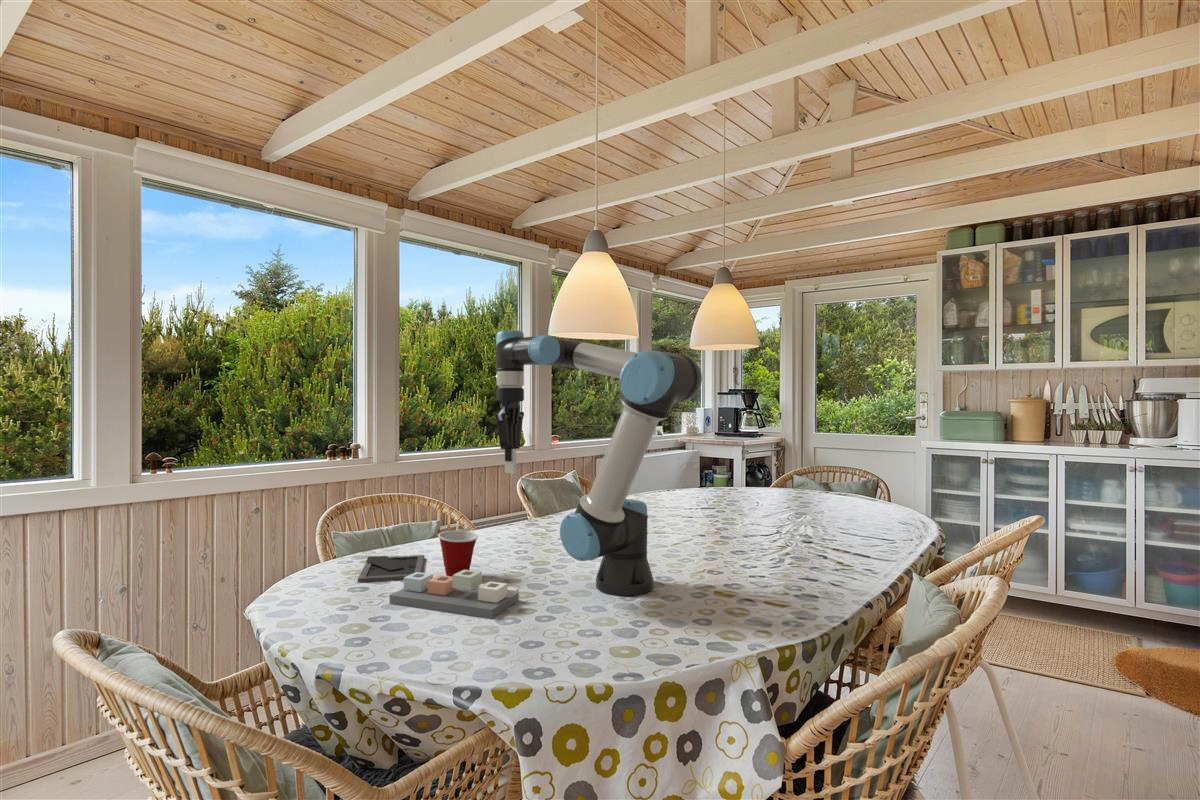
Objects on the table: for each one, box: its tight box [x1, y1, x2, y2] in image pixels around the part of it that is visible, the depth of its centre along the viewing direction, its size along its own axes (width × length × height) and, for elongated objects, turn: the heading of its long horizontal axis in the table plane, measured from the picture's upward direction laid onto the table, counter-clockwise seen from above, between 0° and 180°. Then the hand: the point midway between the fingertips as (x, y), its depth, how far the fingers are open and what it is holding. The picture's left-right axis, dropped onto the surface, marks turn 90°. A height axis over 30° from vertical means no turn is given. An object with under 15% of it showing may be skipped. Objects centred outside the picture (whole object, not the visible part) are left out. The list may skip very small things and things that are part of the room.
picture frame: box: [357, 554, 425, 583], centre depth 176 cm, size 16×2×21 cm
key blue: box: [403, 572, 434, 592], centre depth 153 cm, size 5×5×3 cm
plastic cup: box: [437, 530, 479, 577], centre depth 169 cm, size 11×11×12 cm
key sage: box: [453, 570, 483, 590], centre depth 149 cm, size 5×5×3 cm
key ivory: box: [478, 581, 508, 603], centre depth 146 cm, size 5×5×3 cm
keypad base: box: [389, 576, 520, 620], centre depth 150 cm, size 28×13×3 cm, turn 70°
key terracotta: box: [428, 574, 457, 596], centre depth 151 cm, size 5×5×3 cm
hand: (510, 472), depth 170 cm, fingers closed
